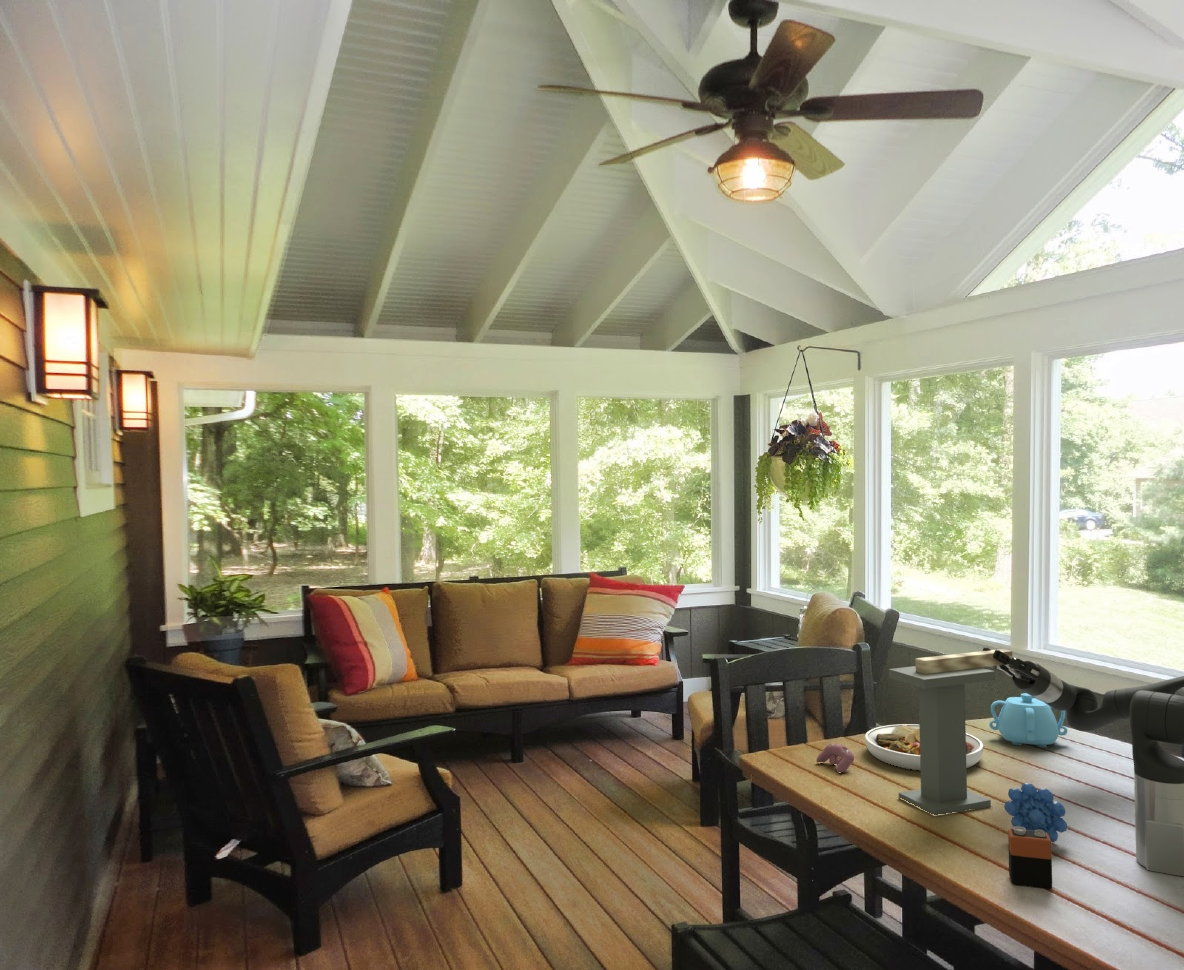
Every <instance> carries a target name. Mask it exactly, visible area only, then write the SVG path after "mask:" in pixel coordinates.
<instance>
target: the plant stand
mask: <svg viewBox="0 0 1184 970" xmlns="http://www.w3.org/2000/svg"><path fill="white" fill-rule="evenodd" d="M995 673H996V671H994V670H992V669H988V668H985V667H979V668H971V669H962V670H954V671H945V672H937V673H928V674H923V673H920V672H916V665H913V666H905V667H897V668H889V669H888V678H890V679H892V680H896V681H898V682H902V683H905V684H909V685H912V686H915V687H918V712H919V714H918V715H919V716H918V717H919V719H918V720H919V722H918V723H919V724H918V725H920V769H921V771H920V788H918V789H912V790H907V791H900V792H898V798H899V797H900V798H902V799H904V800H906V801H908V802H909V803H912V804H914V805H915V806H918V807H920V808H921V809H923V810H925V811H927V812H929V813H931V814H934V815H938V814H946V813H952V812H959V813H962V812H961V811H964V812H966V811H965V810H969V809H975V810H980V809H985V808H989V807H990V808H991V807H992V806H991V805H992V803H991V799H989V798H987V797H985V796H982V795H981V794H978V793H976V792H973V791H971V790H969V789H968V787H967V786H968V782H967V781H968V779H967V778H968V775H967V771H968V770H967V768H966V733H967V732H966V731H967V730H966V697H965V696H966V695H965V693H966V692H965V690H966V689H965V684H973V683H979V682H988V681H994V680H996V679H995V678H996V674H995ZM969 811H970V810H969Z"/></svg>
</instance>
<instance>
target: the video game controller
mask: <svg viewBox="0 0 1184 970" xmlns="http://www.w3.org/2000/svg"><path fill="white" fill-rule="evenodd" d="M839 758H840V759H839ZM854 760H855V754H854V753H853V752H851V751H850V749H849V748H847V746H844V745H842V744H839V743H828V745H826V746H825V748H824V749H823V750H822V751H821V752H820V753H819V754H818V755H817V757H816V763H817V762H824V763H826V762H827V761H829V764H830V763H831V764H830V765H832V764H837V765H836V772H837V773H838V772H843V773H845V772H846V771H847V770H848V769H849V768H850V766H851V765H852V764H853V763H854ZM844 771H845V772H844Z"/></svg>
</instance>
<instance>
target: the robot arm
mask: <svg viewBox="0 0 1184 970" xmlns="http://www.w3.org/2000/svg"><path fill="white" fill-rule="evenodd" d="M989 650H992V649H991V648H989V647H986V646H984V647H983V648H982V651H989ZM994 650H995V652H994V655H993V658H994V659H996V660H997V661H999V662H1001V663H1002V664H1005V665H997V666H991V668H992V669H994V670H1000V671H1002V672H1004V673H1005V674H1006V675H1007V676H1009V677H1011V679H1012V683H1013V684H1014V686H1015V687H1017V689H1019V690H1020V691H1023V692H1024V693H1027V694H1029V695H1031V696H1032V697H1033V698H1036V699H1038V700H1040V701H1043V702H1044V703H1046V704H1047V705H1049V706H1051V707H1053V708H1052V709H1055V710H1058V711H1060V712H1061V711H1065V714H1066V721H1067V723H1068V725H1069V727H1071V728H1072V729H1073V730H1076V731H1078V732H1079V731H1080V732H1090V731H1095V730H1098V729H1100V728H1103V727H1105V726H1107V725H1109V724H1113V723H1115V722H1118V721H1120V720H1121V721H1122V720H1129V723H1130V735H1131V737H1130V738H1131V749H1132V752H1131V753H1132V760H1133V761H1132V762H1133V773H1134V774H1133V777H1134V778H1133V782H1134V783H1133V784H1134V785H1133V786H1134V789H1133V791H1134V824H1135V825H1134V828H1135V829H1134V830H1135V832H1134V833H1135V860H1136V862H1137V863H1139V864H1140V865H1141V866H1143V867H1144V868H1145V869H1146V870H1147V871H1151V872H1158V873H1162V874H1169V875H1173V876H1179V877H1184V759H1182V758H1180V757H1177V756H1176V755H1174V754H1172V752H1171V753H1170V752H1169V751H1168V750H1166V749H1165V748H1164V747H1162V746H1161V745H1160V744H1159V742H1163V743H1167V744H1168V743H1169V744H1173V745H1174V744H1175V745H1183V746H1184V675H1182V676H1178V677H1173V678H1169V679H1166V680H1162V681H1158V682H1154V683H1149V684H1146V685H1141V686H1134V687H1126V688H1120V689H1112V690H1107V691H1106V692H1105V693H1104V695H1103V699H1102V703H1101V704H1100V706H1099V704H1098V698H1097V695H1096V694H1095V692H1094V691H1092V690H1091V689H1090V688H1087V687H1082V686H1078V685H1077V686H1076V685H1074V684H1070V683H1067V681H1066V682H1065V681H1064V680H1062V679H1061V678H1059V677H1058V676H1057V675H1056V674H1055V673H1053V672H1052V671H1050V670H1048V669H1046V668H1045V667H1044V666H1042V665H1041V664H1039V663H1037V662H1035V661H1034V660H1022V659H1020V658H1015V657H1014V656H1013V655H1012V656H1008V655H1006V654H1004V653H1003V652H1001V651H999V650H998V649H994Z"/></svg>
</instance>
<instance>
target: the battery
mask: <svg viewBox="0 0 1184 970" xmlns="http://www.w3.org/2000/svg"><path fill="white" fill-rule="evenodd" d="M1007 839H1008V840H1007V841H1008V844H1007V845H1008V875H1009V878H1010V882H1011V884H1012V885H1014V886H1018V887H1019V886H1020V887H1027V888H1028V887H1029V888H1036V889H1043V890H1044V889H1045V890H1052V889H1053V860H1052V858H1053V857H1052V856H1053V855H1052V853H1053V852H1052V851H1053V850H1052V849H1053V848H1052V842H1051V840H1050V838H1049V836H1048V834H1047V833H1046V832H1044V831H1043V830H1035V831H1029V830H1025V828H1023V827H1019V826H1017V827H1014V826H1013V828H1009V829H1008V830H1007Z"/></svg>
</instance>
